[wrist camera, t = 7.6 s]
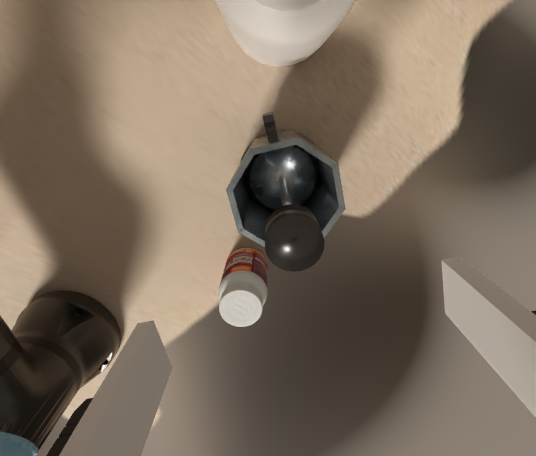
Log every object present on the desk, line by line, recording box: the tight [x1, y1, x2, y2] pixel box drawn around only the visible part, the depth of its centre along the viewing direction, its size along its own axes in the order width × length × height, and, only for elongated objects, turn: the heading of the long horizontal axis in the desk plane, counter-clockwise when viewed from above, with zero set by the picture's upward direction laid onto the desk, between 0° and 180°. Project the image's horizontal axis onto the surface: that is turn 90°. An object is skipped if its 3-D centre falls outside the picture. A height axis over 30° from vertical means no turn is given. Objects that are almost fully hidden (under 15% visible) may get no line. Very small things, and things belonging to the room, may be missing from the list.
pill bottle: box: [219, 248, 268, 327], centre depth 45 cm, size 6×6×11 cm
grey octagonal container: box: [226, 112, 345, 247], centre depth 40 cm, size 12×14×12 cm
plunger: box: [250, 146, 324, 271], centre depth 34 cm, size 8×8×23 cm
